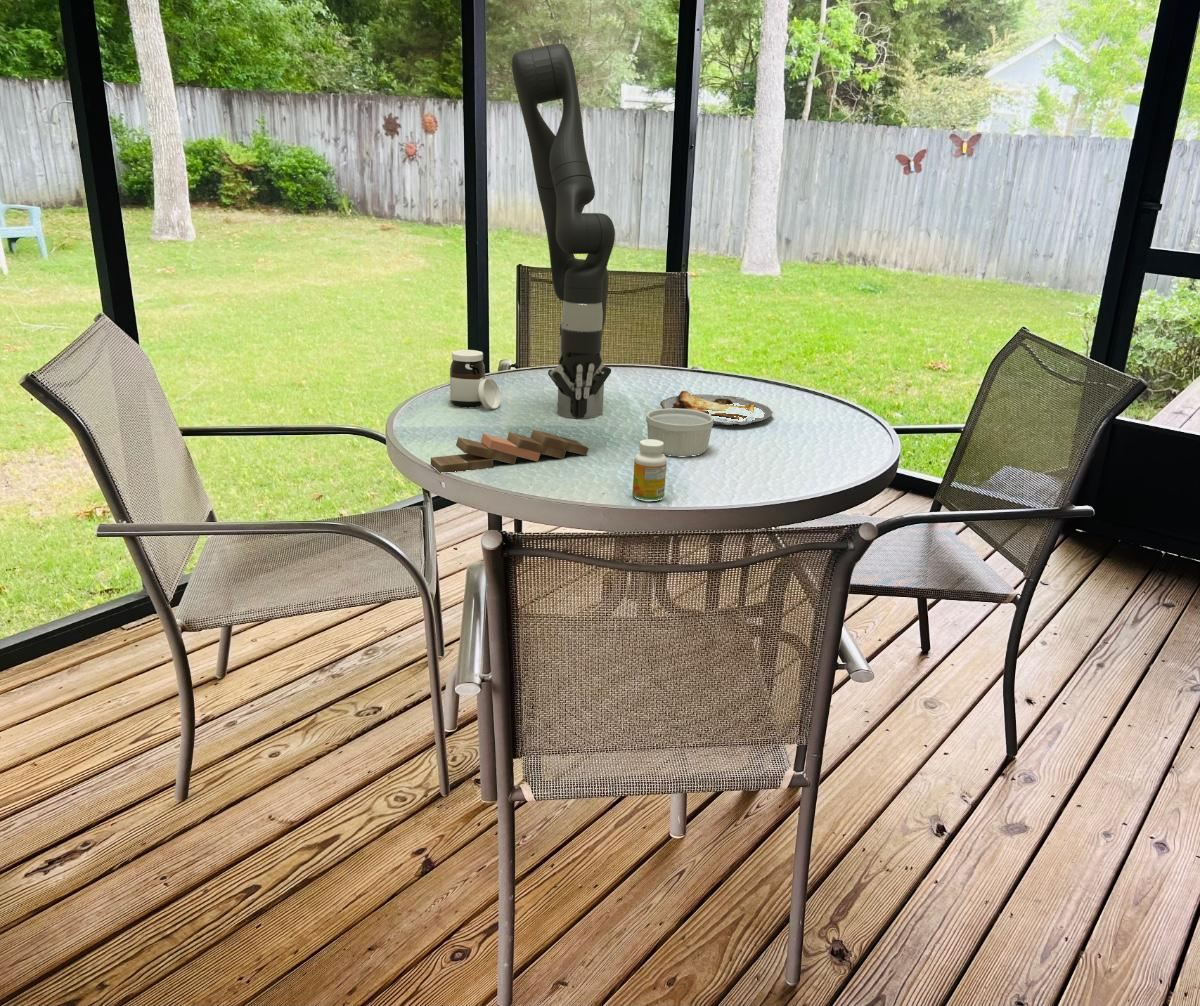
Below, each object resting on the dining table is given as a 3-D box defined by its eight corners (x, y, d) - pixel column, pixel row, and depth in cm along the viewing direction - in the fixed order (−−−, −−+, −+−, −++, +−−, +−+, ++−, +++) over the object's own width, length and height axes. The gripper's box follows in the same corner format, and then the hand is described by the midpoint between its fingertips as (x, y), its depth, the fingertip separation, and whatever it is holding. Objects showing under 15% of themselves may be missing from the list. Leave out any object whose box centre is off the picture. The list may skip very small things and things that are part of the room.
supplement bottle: (630, 491, 163) (633, 437, 160) (661, 492, 163) (665, 438, 160) (634, 502, 158) (637, 446, 155) (666, 503, 158) (670, 447, 155)
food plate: (646, 418, 209) (647, 403, 208) (677, 397, 229) (679, 383, 228) (757, 438, 201) (759, 422, 200) (779, 414, 221) (782, 400, 220)
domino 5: (576, 440, 185) (533, 429, 179) (588, 447, 181) (545, 436, 175) (573, 448, 185) (530, 437, 179) (586, 455, 181) (542, 444, 175)
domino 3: (530, 446, 180) (483, 433, 175) (540, 453, 176) (492, 440, 171) (527, 454, 180) (480, 441, 175) (537, 461, 176) (489, 448, 171)
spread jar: (452, 398, 218) (452, 347, 214) (502, 399, 219) (502, 349, 215) (447, 411, 207) (446, 358, 203) (499, 413, 208) (499, 360, 204)
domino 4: (554, 443, 182) (509, 431, 177) (566, 451, 178) (520, 438, 173) (551, 451, 183) (506, 439, 177) (563, 459, 179) (517, 447, 173)
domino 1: (482, 452, 175) (430, 457, 171) (493, 459, 171) (440, 465, 167) (482, 460, 176) (430, 466, 171) (492, 468, 172) (440, 474, 167)
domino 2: (507, 448, 178) (458, 437, 173) (516, 455, 174) (466, 444, 169) (504, 456, 178) (455, 445, 173) (514, 464, 174) (464, 452, 169)
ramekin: (633, 443, 191) (635, 409, 189) (691, 438, 196) (693, 405, 194) (662, 462, 180) (665, 427, 177) (723, 457, 185) (726, 422, 182)
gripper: (560, 331, 168) (557, 425, 174) (623, 327, 175) (618, 418, 181) (540, 324, 174) (538, 415, 180) (602, 321, 181) (597, 409, 187)
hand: (578, 417), depth 180 cm, fingers closed
